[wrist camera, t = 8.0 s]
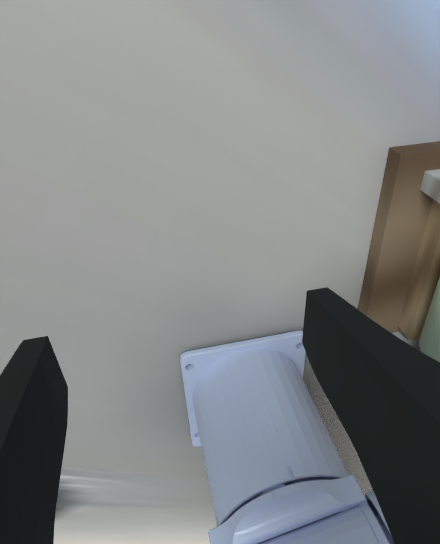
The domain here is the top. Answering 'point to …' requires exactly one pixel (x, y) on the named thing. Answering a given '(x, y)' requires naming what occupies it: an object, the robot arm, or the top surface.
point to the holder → (405, 243)
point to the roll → (432, 328)
